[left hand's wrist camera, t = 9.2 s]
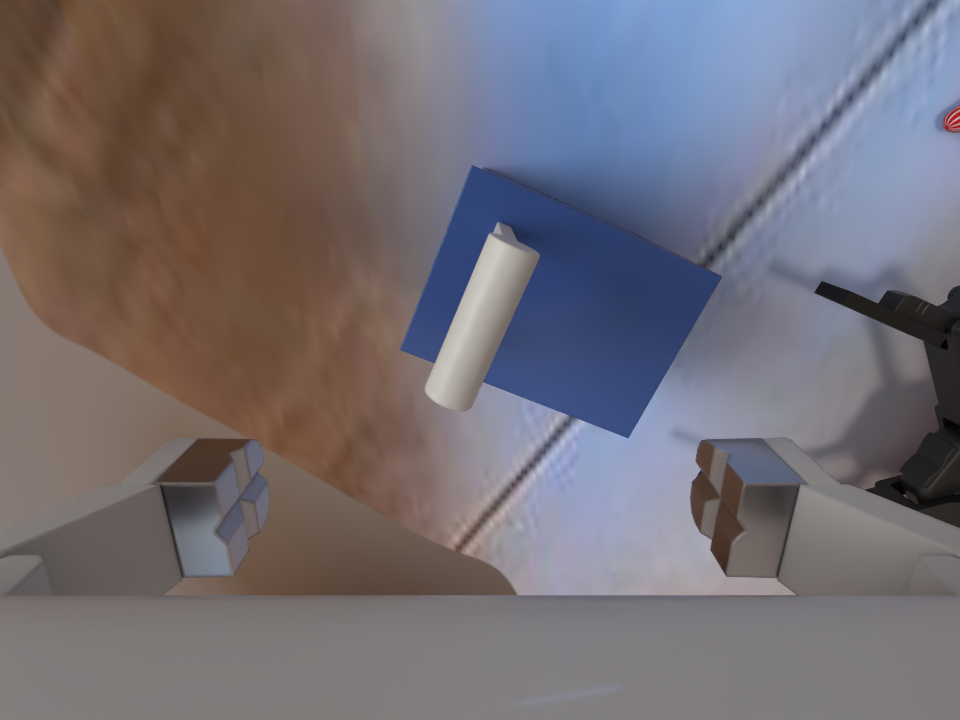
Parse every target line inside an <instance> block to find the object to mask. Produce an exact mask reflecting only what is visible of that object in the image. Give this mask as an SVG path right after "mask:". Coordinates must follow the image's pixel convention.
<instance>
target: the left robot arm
mask: <svg viewBox="0 0 960 720" xmlns="http://www.w3.org/2000/svg"><path fill="white" fill-rule="evenodd" d="M263 463H264V456H263V451H262V446H261V444H260V443H259V442H258V441H257V439H215V438H204V439H202V438H176V439H170V440H168V441H167V442H166V443H165V444H164V445H163V446H162V447H161V448H159V449H158V450H157V451H156V452H155V453H154V454H153V455H152V456H151V457H149V458H148V459H147V460H146V461H145V462H144V463H143V464H142V465H141V466H139V467H138V468H137V469H136V470H135V471H134V472H133V473H131V474H130V475H129V476H128V477H127V478H126V479H125V480H124V481H123V482H121V483H120V484H114V485H113V484H112V485H108V486H105V487H103V488H100V489H97V490H95V491H92V492H90V493H87V494H85V495H82V496H80V497H77V498H75V499H72V500H70V501H67V502H65V503H62V504H60V505H57V506H55V507H52V508H49V509H47V510H45V511H42V512H39V513H37V514H34V515H32V516H29V517H27V518H24V519H22V520H19V521H17V522H14V523H12V524H9V525H7V526H4V527H2V528H0V720H960V528H958V527H956V526H953V525H951V524H948V523H946V522H943V521H941V520H938V519H936V518H933V517H930V516H928V515H925V514H923V513H920V512H918V511H915V510H913V509H910V508H908V507H905V506H903V505H900V504H898V503H895V502H893V501H890V500H888V499H885V498H883V497H880V496H878V495H875V494H873V493H870V492H868V491H865V490H863V489H860V488H858V487H855V486H852V485H848V484H840V483H839V482H838V481H836V480H835V479H834V478H833V477H832V476H831V475H830V474H829V473H828V472H826V471H825V470H824V469H823V468H822V467H821V466H820V465H819V464H817V463H816V462H815V461H814V460H813V459H812V458H811V457H810V456H809V455H807V454H806V453H805V452H804V451H803V450H802V449H801V448H800V447H798V446H797V445H796V444H795V443H794V442H793V441H792V440H790V439H787V438H762V439H761V438H744V439H707V440H702V441H701V442H700V445H699V447H698V449H697V455H696V463H697V464H698V466H699V467H700V469H701V470H702V472H701V473H700V474H699V475H698V476H697V477H696V478H695V479H694V481H693V482H692V487H691V495H690V501H691V511H692V515H693V518H694V522H695V524H696V526H697V528H698V529H699V531H700V533H702V534H703V535H705V536H707V537H708V538H710V539H711V540H712V543H711V549H710V550H711V552H712V553H713V555H714V557H715V558H716V560H717V562H718V563H719V565H720V567H721V568H722V570H723V572H724V573H725V575H726V577H757V578H778V579H777V580H778V581H779V582H780V583H782V584H783V585H784V586H786V587H787V588H788V589H790V590H791V591H793V592H794V593H795V594H797V595H164V594H165V593H166V592H168V591H169V590H170V589H172V588H173V587H174V586H176V585H177V584H178V583H180V582H181V581H182V578H202V577H233V576H234V575H235V573H236V572H237V570H238V568H239V567H240V565H241V563H242V562H243V560H244V558H245V557H246V555H247V553H248V552H249V550H250V549H249V543H248V540H249V539H250V538H252V537H253V536H255V535H257V534H258V533H260V531H261V529H262V527H263V526H264V524H265V522H266V518H267V514H268V510H269V498H270V493H269V486H268V482H267V481H266V480H265V479H264V477H263V476H262V475H261V474H260V473H259V472H258V470H259V469H260V467H261V466H262V464H263Z"/></svg>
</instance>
